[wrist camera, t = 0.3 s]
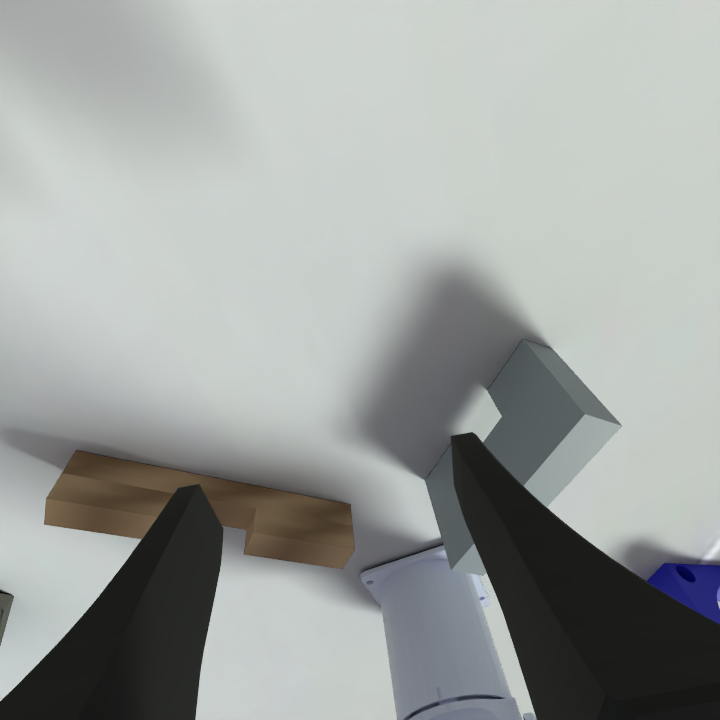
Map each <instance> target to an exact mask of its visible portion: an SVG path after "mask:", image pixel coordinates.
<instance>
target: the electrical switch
mask: <svg viewBox="0 0 720 720" xmlns="http://www.w3.org/2000/svg"><path fill="white" fill-rule="evenodd" d="M13 598H14V596H12V595H9V594H2V593H0V645H1V642H2V638H3V634H4V631H5V627H6V623H7V620H8V616H9V612H10V609H11V605H12V602H13Z"/></svg>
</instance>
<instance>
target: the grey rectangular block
mask: <svg viewBox="0 0 720 720" xmlns="http://www.w3.org/2000/svg"><path fill="white" fill-rule="evenodd" d="M488 393H489V394H490V396H491V398H492V400H493V401H494V403H495V405H496V407H497V408H498V410H499V412H500V414H501V415H502V418H501V419H500V420H499V422H498V423H497V424H496V426H495V427H494V428H493V430H492V431H491V432H490V434H489V435H488V436H487V438H486V439H485V441H484V442H483V444H484V445H485V446H486V447H487V448H488V450H489V451H490V452H491V453H492V454H493V455H494V456H495V457H496V459H497V460H498V461H499V462H500V463H501V464H502V465H503V466H504V467H505V468H506V469H507V470H508V471H509V472H510V473H511V474H512V475H513V476H514V477H515V478H516V479H517V480H518V481H519V482H520V483H521V484H522V485H523V486H524V487H525V488H526V489H527V490H528V491H529V492H530V493H531V494H532V495H533V496H534V497H536V498H537V499H538V500H539V501H540V502H541V503H542V504H543V505H544V506H546V507H547V506H548V505H549V504H550V503H551V502H552V501H553V500H554V499H555V498H556V497H557V496H558V495H559V493H560V492H561V491H562V490H563V489H564V488H565V487H566V486H567V485H568V484H569V483H570V482H571V481H572V479H573V478H574V477H575V476H576V475H577V474H578V473H579V472H580V471H581V470H582V469H583V468H584V467H585V466H586V464H587V463H588V462H589V461H590V460H591V459H592V458H593V457H594V456H595V455H596V454H597V453H598V452H599V450H600V449H601V448H602V447H603V446H604V445H605V444H606V443H607V442H608V441H609V440H610V439H611V438H612V436H613V435H614V434H615V433H616V432H617V431H618V430H619V429H620V428H621V427H622V425H621V424H620V423H619V422H618V421H617V420H616V418H615V417H614V416H613V415H612V414H611V413H610V412H609V411H608V410H607V409H606V407H605V406H604V405H603V404H602V403H601V402H600V401H599V400H598V399H597V397H596V396H595V395H594V394H593V393H592V392H591V391H590V390H589V389H588V387H587V386H586V385H585V384H584V383H583V382H582V381H581V380H580V379H579V378H578V376H577V375H576V374H575V373H574V372H573V371H572V370H571V369H570V368H569V366H568V365H567V364H566V363H565V362H564V361H563V360H562V359H561V358H560V356H559V355H558V354H557V353H556V352H555V351H554V350H552V349H549V348H547V347H544V346H541V345H538V344H536V343H533V342H530V341H527V340H524V339H523V340H522V341H521V343H520V344H519V346H518V347H517V349H516V350H515V352H514V353H513V354H512V356H511V357H510V359H509V360H508V362H507V363H506V365H505V366H504V367H503V369H502V370H501V372H500V373H499V375H498V376H497V378H496V379H495V380H494V382H493V383H492V385H491V386H490V388H489V389H488ZM425 482H426V486H427V489H428V493H429V496H430V500H431V503H432V506H433V510H434V513H435V517H436V520H437V524H438V527H439V531H440V534H441V537H442V541H443V544H444V548H445V551H446V555H447V558H448V562H449V565H450V569H451V570H452V571H458V572H464V573H470V574H476V575H484V574H485V573H486V570H485V567H484V565H483V563H482V560H481V558H480V556H479V553H478V551H477V549H476V546H475V544H474V542H473V539H472V537H471V534H470V532H469V530H468V527H467V525H466V522H465V520H464V517H463V514H462V511H461V507H460V504H459V501H458V498H457V494H456V491H455V487H454V480H453V464H452V448H451V444H450V445H449V447H448V448H447V450H446V451H445V453H444V454H443V456H442V457H441V459H440V460H439V461H438V463H437V464H436V466H435V467H434V469H433V470H432V472H431V473H430V474H429V476H428V477H427V479H426V480H425Z"/></svg>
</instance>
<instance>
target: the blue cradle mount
mask: <svg viewBox="0 0 720 720" xmlns="http://www.w3.org/2000/svg"><path fill="white" fill-rule="evenodd" d="M647 582H648V583H650V584H651V585H653V586H654V587H656V588H657V589H659V590H661V591H662V592H664V593H666V594H667V595H669V596H671V597H672V598H674V599H676V600H677V601H679V602H681V603H682V604H684V605H686V606H687V607H689V608H691V609H693V610H694V611H696V612H698V613H700V614H701V615H703V616H705V617H707V618H709V619H711V620H712V621H714V622H716V623H718V624H720V609H719V606H718V602H717V601H720V566H716V565H694V564H672V563H664V564H663V565H662V566H661V567H660V568H659V569H658V570H657V571H656V572H655V573H654V574H653V575H652V576H651V577H650V578H649V580H648V581H647Z"/></svg>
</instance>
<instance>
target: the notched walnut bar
mask: <svg viewBox="0 0 720 720" xmlns="http://www.w3.org/2000/svg"><path fill="white" fill-rule="evenodd" d="M196 484H200V486H201V488H202V490H203V492H204V494H205V495H206V497H207V499H208V501H209V503H210V505H211V507H212V508H213V510H214V512H215V514H216V516H217V518H218V520H219V521H220V523H221V525H222V526H228V527H234V528H240V529H246V530H247V533H246V541H245V548H244V554H245V555H252V556H258V557H265V558H272V559H278V560H285V561H292V562H299V563H305V564H312V565H319V566H325V567H332V568H339V569H343V567H344V566H345V564H346V562H347V561H348V559H349V558H350V556H351V555H352V553H353V552H354V550H355V545H354V535H353V525H352V515H351V505H350V504H345V503H340V502H335V501H330V500H325V499H320V498H314V497H309V496H304V495H299V494H294V493H289V492H284V491H279V490H274V489H269V488H264V487H259V486H254V485H248V484H243V483H238V482H233V481H228V480H223V479H218V478H213V477H208V476H203V475H198V474H193V473H188V472H182V471H177V470H172V469H167V468H162V467H157V466H152V465H147V464H142V463H137V462H132V461H127V460H122V459H116V458H111V457H106V456H101V455H96V454H91V453H86V452H81V451H76V452H75V453H74V455H73V456H72V458H71V460H70V461H69V463H68V464H67V466H66V468H65V469H64V471H63V472H62V474H61V476H60V477H59V479H58V480H57V482H56V484H55V485H54V487H53V489H52V490H51V492H50V493H49V495H48V497H47V498H46V508H45V520H44V525H51V526H58V527H64V528H71V529H78V530H84V531H91V532H98V533H105V534H111V535H118V536H125V537H131V538H138V539H143V537H144V536H145V534H146V533H147V532H148V530H149V529H150V527H151V526H152V524H153V523H154V522H155V520H156V519H157V517H158V516H159V514H160V513H161V511H162V510H163V509H164V507H165V506H166V504H167V503H168V501H169V500H170V499H171V497H172V496H173V494H174V493H175V492H176V490H177V489H178V488H180V487H185V486H191V485H196Z"/></svg>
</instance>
